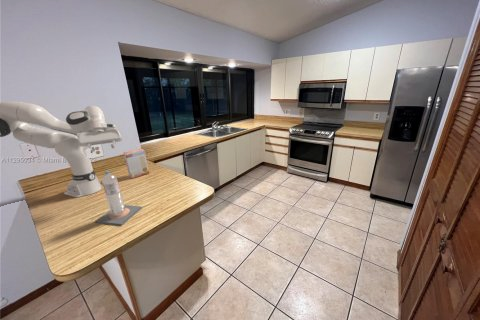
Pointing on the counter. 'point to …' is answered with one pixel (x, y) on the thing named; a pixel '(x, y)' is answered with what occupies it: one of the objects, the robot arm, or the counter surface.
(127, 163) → the cracker box
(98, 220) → the spot mat
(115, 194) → the water bottle
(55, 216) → the counter surface
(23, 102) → the robot arm
